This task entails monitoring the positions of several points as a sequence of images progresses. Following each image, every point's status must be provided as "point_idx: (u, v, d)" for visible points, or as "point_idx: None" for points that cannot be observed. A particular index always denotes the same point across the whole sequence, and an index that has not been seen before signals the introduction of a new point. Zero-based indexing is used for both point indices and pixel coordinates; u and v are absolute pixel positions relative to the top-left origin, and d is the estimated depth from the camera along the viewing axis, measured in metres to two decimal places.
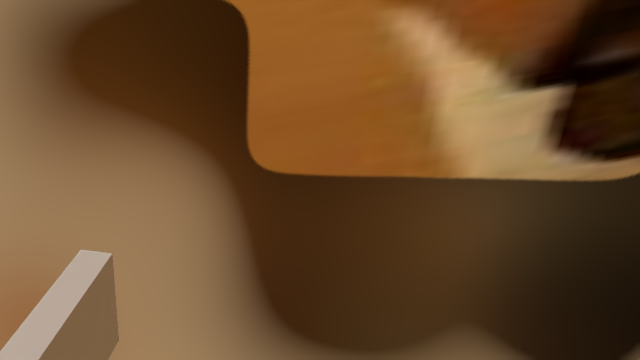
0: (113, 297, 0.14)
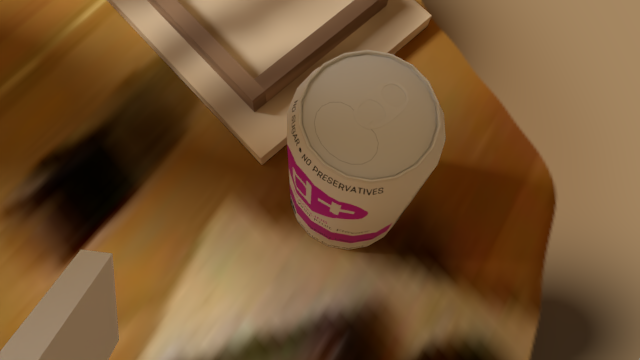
0: (113, 297, 0.14)
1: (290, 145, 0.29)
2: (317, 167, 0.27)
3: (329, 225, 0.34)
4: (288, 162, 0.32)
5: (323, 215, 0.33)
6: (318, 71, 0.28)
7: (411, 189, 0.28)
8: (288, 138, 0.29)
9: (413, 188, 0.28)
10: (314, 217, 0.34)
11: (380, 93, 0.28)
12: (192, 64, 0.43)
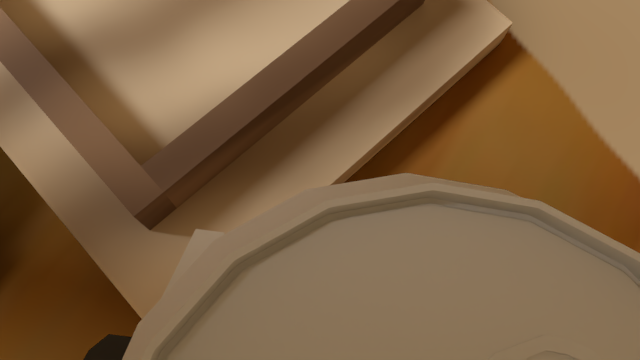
0: None
1: None
2: None
3: None
4: None
5: None
6: (203, 295, 0.06)
7: None
8: None
9: None
10: None
11: None
12: (27, 127, 0.21)
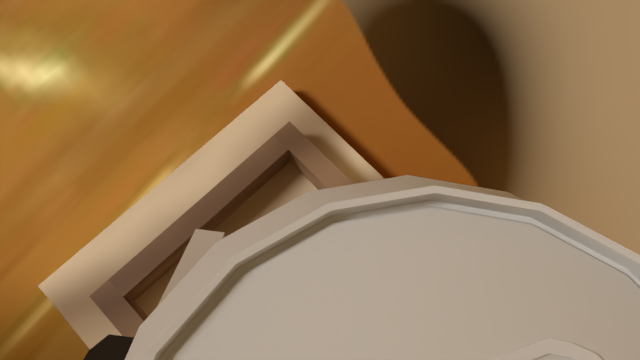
0: None
1: None
2: None
3: None
4: None
5: None
6: (205, 298, 0.06)
7: None
8: None
9: None
10: None
11: None
12: None
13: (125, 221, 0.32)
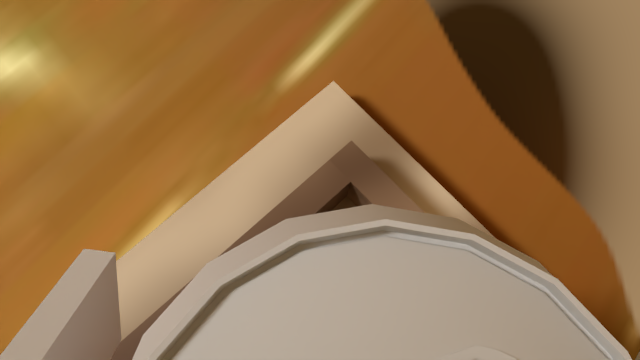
0: (116, 296, 0.14)
1: None
2: None
3: None
4: None
5: None
6: (196, 313, 0.07)
7: None
8: None
9: None
10: None
11: None
12: None
13: None
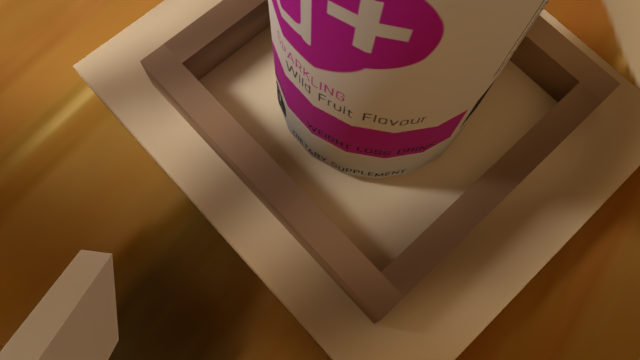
0: (113, 297, 0.14)
1: None
2: None
3: (349, 104, 0.17)
4: None
5: (337, 72, 0.16)
6: None
7: None
8: None
9: None
10: (319, 90, 0.17)
11: None
12: (252, 225, 0.23)
13: None
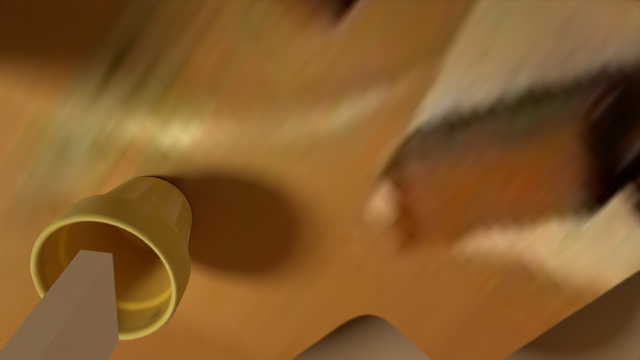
0: (113, 298, 0.14)
1: None
2: None
3: None
4: None
5: None
6: None
7: None
8: None
9: None
10: None
11: None
12: None
13: None
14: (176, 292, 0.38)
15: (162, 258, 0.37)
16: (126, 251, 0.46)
